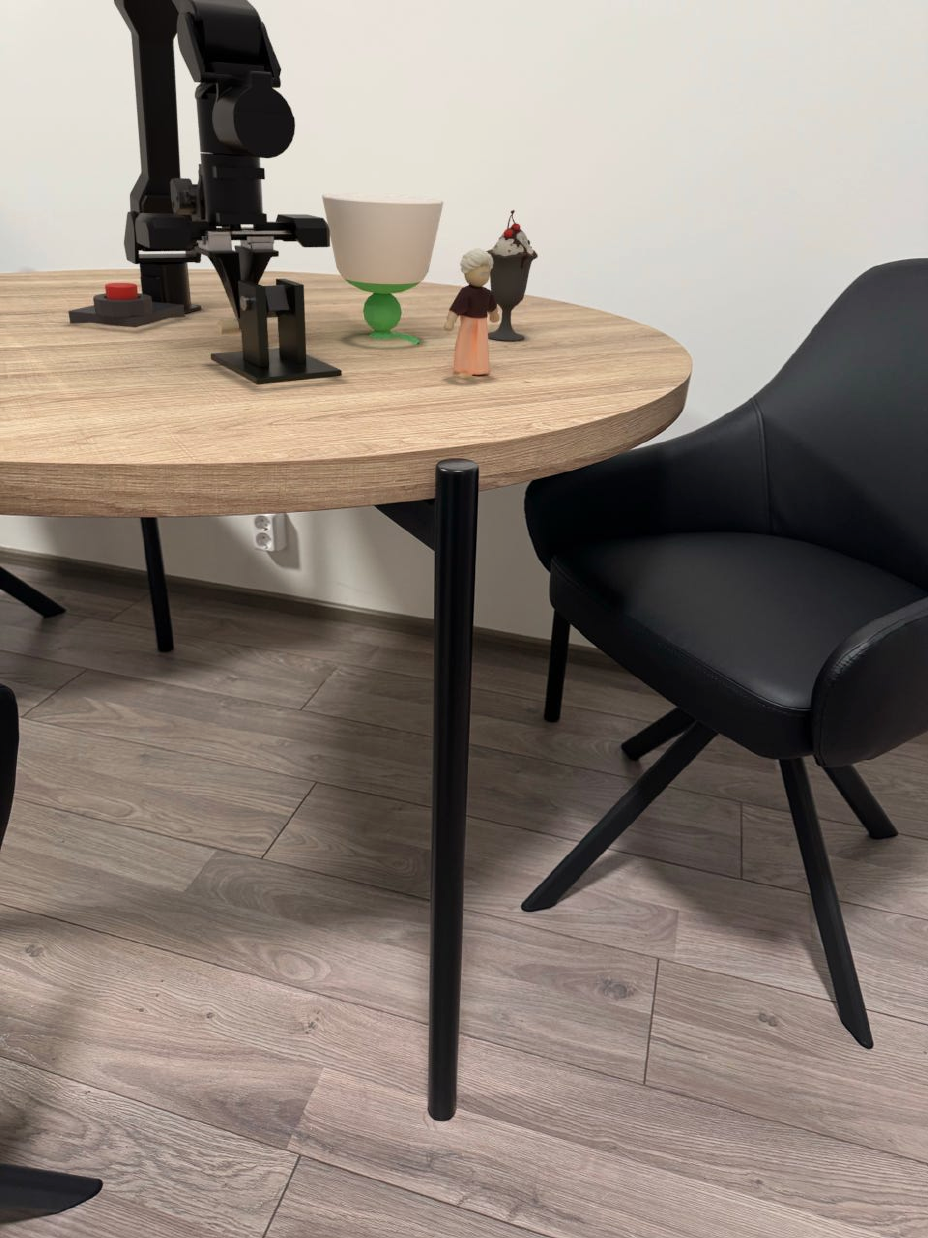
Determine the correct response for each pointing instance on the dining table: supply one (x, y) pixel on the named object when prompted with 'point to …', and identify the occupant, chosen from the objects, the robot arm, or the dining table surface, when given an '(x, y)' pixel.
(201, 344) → the dining table surface
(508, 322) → the sundae
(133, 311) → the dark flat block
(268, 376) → the switch bracket
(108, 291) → the power button
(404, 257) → the cup
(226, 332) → the lever
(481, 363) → the grandmother figurine
